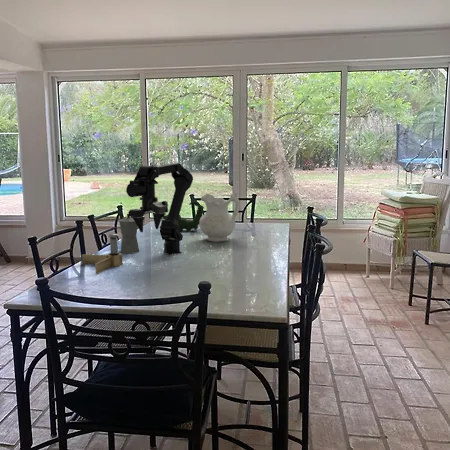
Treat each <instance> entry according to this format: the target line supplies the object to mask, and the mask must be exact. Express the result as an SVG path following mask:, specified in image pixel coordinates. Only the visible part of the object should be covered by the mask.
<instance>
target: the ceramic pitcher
mask: <svg viewBox="0 0 450 450" xmlns="http://www.w3.org/2000/svg"><path fill="white" fill-rule="evenodd" d="M200 200H201V201H202V202H203V203H205V207H206V212H205V213H203V214H202V217H201V218H200V221H199V225H198V227H199V229H200V231H201V233H202V234H203V235H204V236H207V238H206V240H207V241H208V242H215V243H218V242H228V241H229V238H228V236H230V235H231V234H232V233H233V232H234V231H235V228H236V217H237V216H238V213H239V211H240V200H239V198H238V195H237V194H236V193H232V194H230V197H229V199H228V200H227V199H226V200H225V199H224V198H223V197H215V195H213V194H210V193H206V194H203V195H202V196H200ZM232 202H234V203H235V208H234V210H233V213H232V214H230V213H229V205H230V203H232Z"/></svg>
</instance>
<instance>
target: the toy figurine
mask: <svg viewBox="0 0 450 450" xmlns="http://www.w3.org/2000/svg"><path fill="white" fill-rule="evenodd" d="M191 205H194V206H195V207H197V209H196V214H195V215H194V216H195V217H194V218H193V219H192V220H191V219H187V218H185V217H182V216H181V214H179V218H178V223H179V231H180V232H182V231H183V230H185V231H187V232H191V230H193V231H197V230H198V228H199V221H200V218H201V217H202V216H203V215H204V209H205V207H204V206H203V205H202V204H200V203H199V201H195V200H192V201H191V202H189V206H191ZM167 217H168V214H166V215H164V216H163V217H162V219H163V220H166V219H167Z"/></svg>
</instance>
